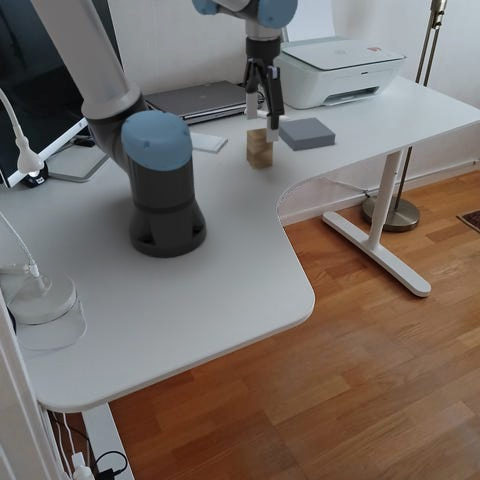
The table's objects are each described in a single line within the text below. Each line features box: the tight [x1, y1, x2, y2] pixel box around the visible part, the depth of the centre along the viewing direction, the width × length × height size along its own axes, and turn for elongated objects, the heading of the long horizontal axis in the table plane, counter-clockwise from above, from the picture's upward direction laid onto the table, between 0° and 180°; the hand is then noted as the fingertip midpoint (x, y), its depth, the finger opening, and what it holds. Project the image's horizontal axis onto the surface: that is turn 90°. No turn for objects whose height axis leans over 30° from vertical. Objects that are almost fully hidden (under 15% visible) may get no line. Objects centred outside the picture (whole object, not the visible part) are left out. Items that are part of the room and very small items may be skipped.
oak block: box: [246, 127, 274, 169], centre depth 112 cm, size 5×5×8 cm
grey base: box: [279, 116, 336, 152], centre depth 124 cm, size 12×12×3 cm
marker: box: [243, 109, 293, 122], centre depth 136 cm, size 18×2×2 cm, turn 60°
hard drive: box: [190, 131, 229, 155], centre depth 122 cm, size 2×8×12 cm
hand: (261, 129), depth 109 cm, fingers open, 13 cm apart
